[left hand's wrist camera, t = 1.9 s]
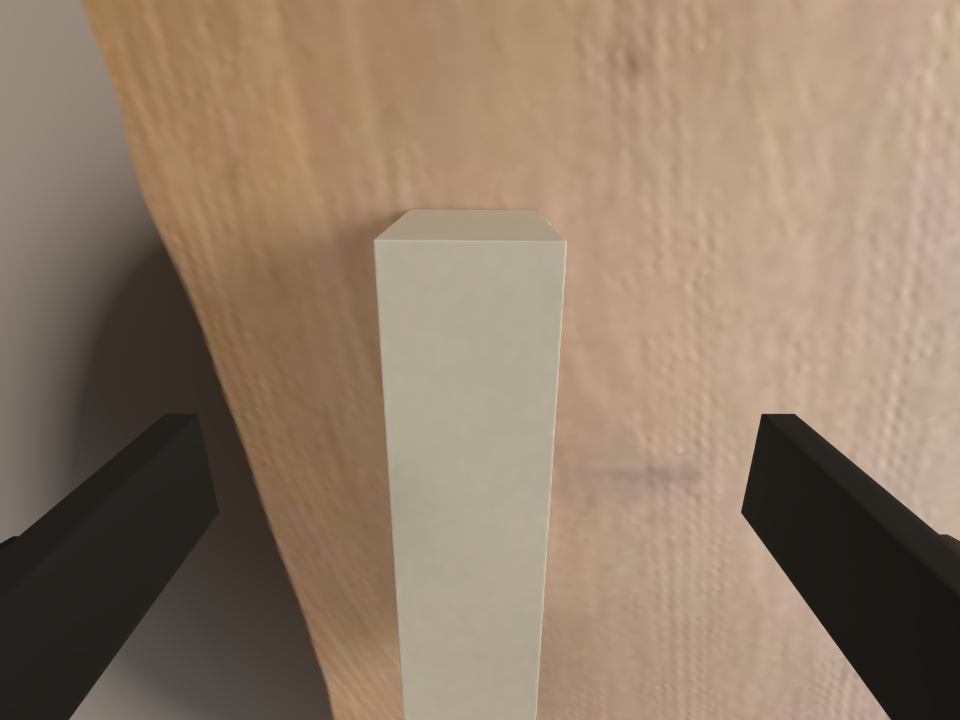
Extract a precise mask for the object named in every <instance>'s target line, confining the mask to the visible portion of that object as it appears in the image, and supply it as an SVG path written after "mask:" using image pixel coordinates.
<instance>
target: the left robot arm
mask: <svg viewBox="0 0 960 720" xmlns="http://www.w3.org/2000/svg"><path fill="white" fill-rule="evenodd" d="M218 513H219V511H218V506H217V501H216V496H215V492H214V487H213V482H212V477H211V473H210V468H209V463H208V458H207V454H206V449H205V444H204V439H203V434H202V430H201V425H200V420H199V415H198V414H165V415H164V416H162V417H161V418H160V419H159V420H158V421H156V422H155V423H154V424H153V425H152V426H150V427H149V428H148V429H147V430H146V431H144V432H143V433H142V434H141V435H140V436H138V437H137V438H136V439H135V440H134V441H132V442H131V443H130V444H129V445H128V446H126V447H125V448H124V449H123V450H122V451H120V452H119V453H118V454H117V455H116V456H114V457H113V458H112V459H111V460H110V461H109V462H107V463H106V464H105V465H104V466H102V467H101V468H100V469H99V470H98V471H97V472H95V473H94V474H93V475H92V476H91V477H89V478H88V479H87V480H86V481H85V482H83V483H82V484H81V485H80V486H79V487H77V488H76V489H75V490H74V491H73V492H71V493H70V494H69V495H68V496H67V497H65V498H64V499H63V500H62V501H61V502H59V503H58V504H57V505H56V506H55V507H53V508H52V509H51V510H50V511H49V512H47V513H46V514H45V515H44V516H43V517H41V518H40V519H39V520H38V521H37V522H35V523H34V524H33V525H32V526H31V527H30V528H28V529H27V530H26V531H25V532H23V533H22V534H21V535H20V536H13V537H11V538H9V539H8V540H6V541H4V542H2V543H0V720H69V719H70V718H71V716H72V715H73V713H74V712H75V711H76V709H77V708H78V707H79V705H80V704H81V702H82V701H83V700H84V698H85V697H86V695H87V694H88V693H89V691H90V690H91V689H92V687H93V686H94V684H95V683H96V682H97V680H98V679H99V677H100V676H101V675H102V673H103V672H104V671H105V669H106V668H107V666H108V665H109V664H110V662H111V661H112V659H113V658H114V657H115V655H116V654H117V653H118V651H119V650H120V648H121V647H122V646H123V644H124V643H125V641H126V640H127V639H128V637H129V636H130V635H131V633H132V632H133V630H134V629H135V628H136V626H137V625H138V624H139V622H140V621H141V619H142V618H143V617H144V615H145V614H146V612H147V611H148V610H149V608H150V607H151V606H152V604H153V603H154V601H155V600H156V599H157V597H158V596H159V594H160V593H161V592H162V590H163V589H164V588H165V586H166V585H167V583H168V582H169V581H170V579H171V578H172V577H173V575H174V574H175V572H176V571H177V570H178V568H179V567H180V565H181V564H182V563H183V561H184V560H185V559H186V557H187V556H188V554H189V553H190V552H191V550H192V549H193V547H194V546H195V545H196V543H197V542H198V541H199V539H200V538H201V536H202V535H203V534H204V532H205V531H206V529H207V528H208V527H209V525H210V524H211V523H212V521H213V520H214V518H215V517H216V516H217V514H218ZM741 513H742V514H743V516H744V517H745V518H746V520H747V521H748V523H749V524H750V525H751V527H752V528H753V529H754V531H755V532H756V534H757V535H758V536H759V538H760V539H761V541H762V542H763V543H764V545H765V546H766V547H767V549H768V550H769V552H770V553H771V554H772V556H773V557H774V559H775V560H776V561H777V563H778V564H779V565H780V567H781V568H782V570H783V571H784V572H785V574H786V575H787V577H788V578H789V579H790V581H791V582H792V583H793V585H794V586H795V588H796V589H797V590H798V592H799V593H800V594H801V596H802V597H803V599H804V600H805V601H806V603H807V604H808V606H809V607H810V608H811V610H812V611H813V612H814V614H815V615H816V617H817V618H818V619H819V621H820V622H821V624H822V625H823V626H824V628H825V629H826V630H827V632H828V633H829V635H830V636H831V637H832V639H833V640H834V642H835V643H836V644H837V646H838V647H839V648H840V650H841V651H842V653H843V654H844V655H845V657H846V658H847V659H848V661H849V662H850V664H851V665H852V666H853V668H854V669H855V671H856V672H857V673H858V675H859V676H860V677H861V679H862V680H863V682H864V683H865V684H866V686H867V687H868V689H869V690H870V691H871V693H872V694H873V695H874V697H875V698H876V700H877V701H878V702H879V704H880V705H881V707H882V708H883V709H884V711H885V712H886V713H887V715H888V716H889V718H890V719H891V720H960V541H958V540H957V539H955V538H953V537H951V536H949V535H939V534H938V533H937V532H935V531H934V530H933V529H932V528H931V527H929V526H928V525H927V524H926V523H925V522H923V521H922V520H921V519H920V518H919V517H917V516H916V515H915V514H914V513H913V512H911V511H910V510H909V509H908V508H907V507H905V506H904V505H903V504H902V503H901V502H899V501H898V500H897V499H896V498H895V497H893V496H892V495H891V494H890V493H889V492H887V491H886V490H885V489H884V488H883V487H881V486H880V485H879V484H878V483H877V482H875V481H874V480H873V479H872V478H871V477H870V476H868V475H867V474H866V473H865V472H864V471H862V470H861V469H860V468H859V467H858V466H856V465H855V464H854V463H853V462H852V461H850V460H849V459H848V458H847V457H846V456H844V455H843V454H842V453H841V452H840V451H838V450H837V449H836V448H835V447H834V446H832V445H831V444H830V443H829V442H828V441H826V440H825V439H824V438H823V437H822V436H820V435H819V434H818V433H817V432H816V431H814V430H813V429H812V428H811V427H810V426H808V425H807V424H806V423H805V422H804V421H802V420H801V419H800V418H799V417H798V416H796V415H795V414H762V415H761V420H760V425H759V430H758V434H757V439H756V444H755V449H754V453H753V458H752V463H751V468H750V473H749V477H748V482H747V487H746V492H745V496H744V501H743V506H742V511H741Z"/></svg>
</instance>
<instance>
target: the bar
mask: <svg viewBox="0 0 960 720" xmlns="http://www.w3.org/2000/svg"><path fill="white" fill-rule="evenodd" d="M373 245H374V260H375V276H376V292H377V308H378V323H379V339H380V355H381V371H382V386H383V402H384V418H385V434H386V449H387V465H388V481H389V497H390V512H391V528H392V544H393V560H394V575H395V591H396V607H397V623H398V638H399V654H400V670H401V686H402V701H403V717H404V720H536V709H537V694H538V679H539V663H540V648H541V633H542V618H543V602H544V587H545V572H546V556H547V541H548V526H549V510H550V495H551V480H552V465H553V449H554V434H555V419H556V403H557V388H558V373H559V357H560V342H561V327H562V312H563V296H564V281H565V266H566V250H567V242H566V240H565V239H564V238H563V237H562V236H561V235H560V234H559V233H558V232H557V231H556V230H555V229H554V227H553V226H552V225H551V224H550V223H549V222H548V221H547V220H546V219H545V218H544V217H543V216H542V214H541V213H540V212H539V211H538V210H441V209H410V210H409V211H408V212H407V213H405V214H404V215H403V216H402V217H401V218H399V219H398V220H397V221H396V222H395V223H393V224H392V225H391V226H390V227H389V228H387V229H386V230H385V231H384V232H383V233H381V234H380V235H379V236H378V237H377V238H375V239H374V241H373Z"/></svg>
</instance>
